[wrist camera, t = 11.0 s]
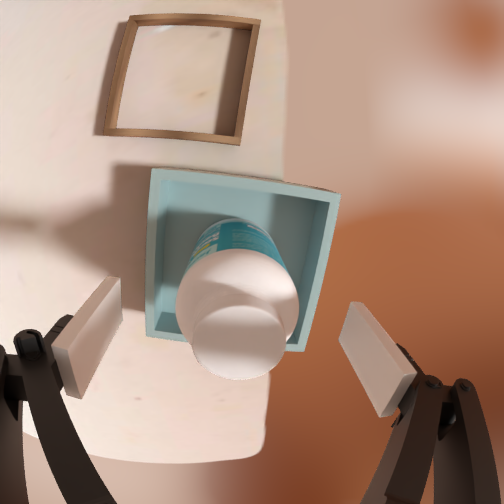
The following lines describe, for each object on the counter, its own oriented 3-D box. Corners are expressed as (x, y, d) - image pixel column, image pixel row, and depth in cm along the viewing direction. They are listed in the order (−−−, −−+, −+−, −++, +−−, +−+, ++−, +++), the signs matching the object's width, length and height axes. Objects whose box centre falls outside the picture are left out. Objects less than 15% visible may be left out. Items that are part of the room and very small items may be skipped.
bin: (155, 313, 29) (146, 336, 25) (164, 167, 24) (151, 168, 20) (295, 328, 30) (303, 351, 26) (324, 188, 26) (341, 194, 22)
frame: (109, 136, 23) (102, 135, 22) (134, 21, 20) (129, 15, 18) (239, 145, 24) (240, 144, 23) (259, 26, 21) (261, 19, 19)
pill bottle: (206, 205, 25) (182, 254, 12) (287, 230, 26) (339, 298, 13) (185, 282, 27) (154, 380, 14) (260, 303, 28) (281, 406, 15)
